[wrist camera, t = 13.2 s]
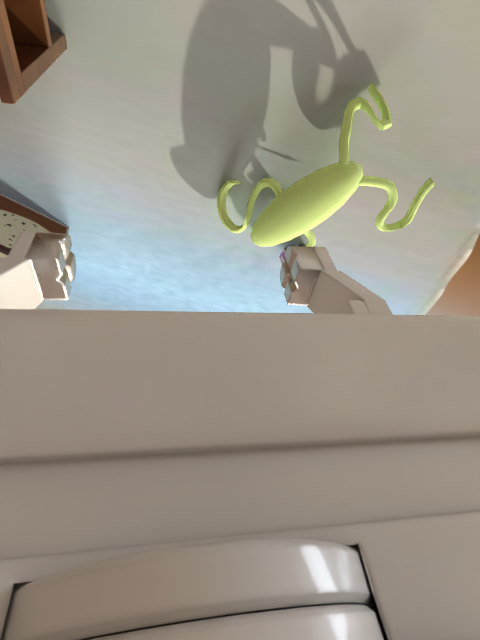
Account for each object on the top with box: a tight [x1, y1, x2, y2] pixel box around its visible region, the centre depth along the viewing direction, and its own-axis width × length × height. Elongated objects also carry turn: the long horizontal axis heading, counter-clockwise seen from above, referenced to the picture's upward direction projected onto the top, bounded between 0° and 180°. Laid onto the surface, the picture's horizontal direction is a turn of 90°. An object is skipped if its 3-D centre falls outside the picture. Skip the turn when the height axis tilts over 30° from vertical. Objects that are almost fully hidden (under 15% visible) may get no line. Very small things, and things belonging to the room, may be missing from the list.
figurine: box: [217, 84, 434, 263], centre depth 50 cm, size 18×27×6 cm
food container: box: [0, 193, 69, 258], centre depth 46 cm, size 12×6×10 cm, turn 51°
